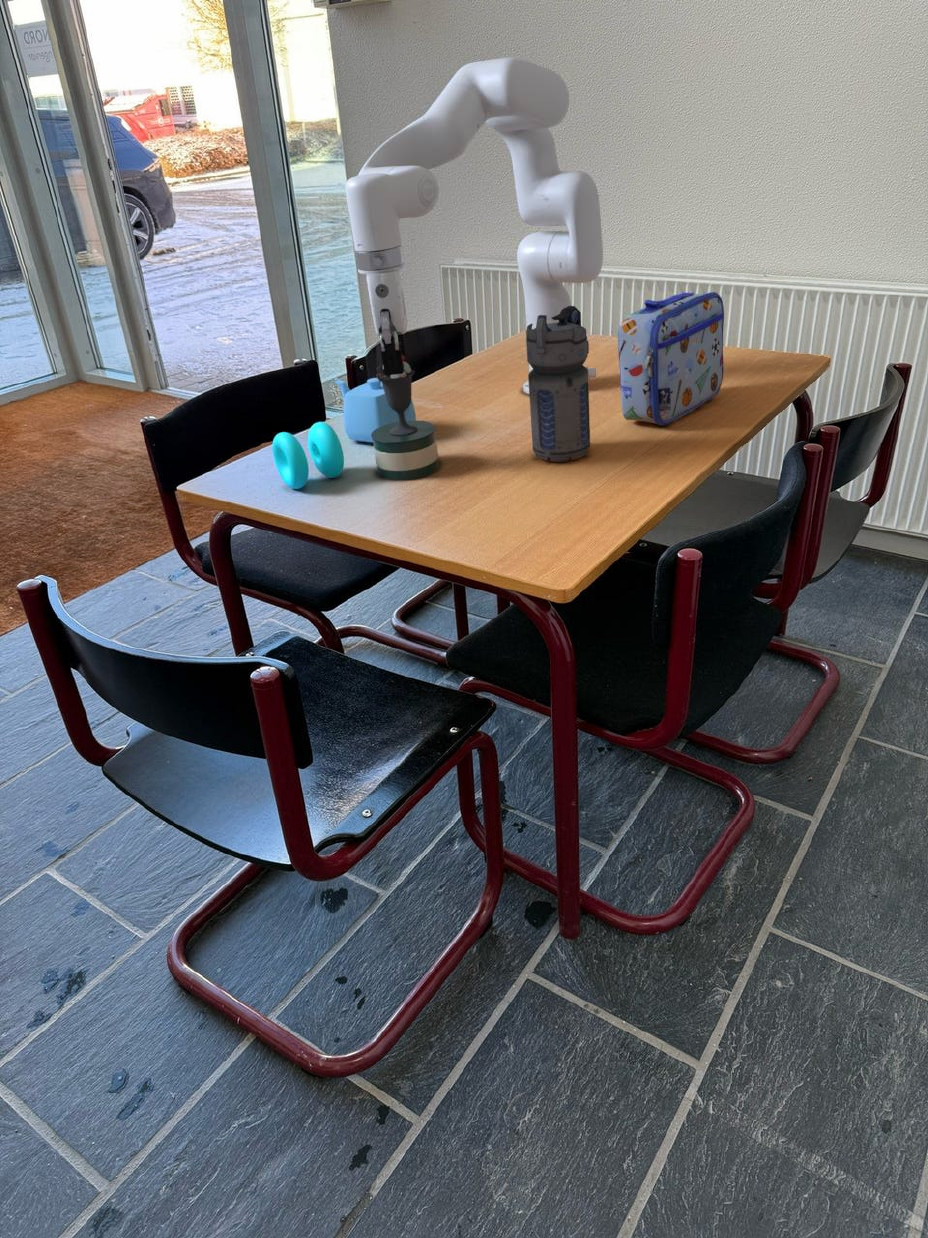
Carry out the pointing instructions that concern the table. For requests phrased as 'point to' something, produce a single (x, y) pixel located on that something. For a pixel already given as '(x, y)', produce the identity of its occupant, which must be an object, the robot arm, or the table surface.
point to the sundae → (398, 395)
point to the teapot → (368, 409)
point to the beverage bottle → (559, 387)
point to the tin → (406, 451)
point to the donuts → (321, 449)
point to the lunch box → (671, 357)
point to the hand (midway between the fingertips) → (395, 365)
